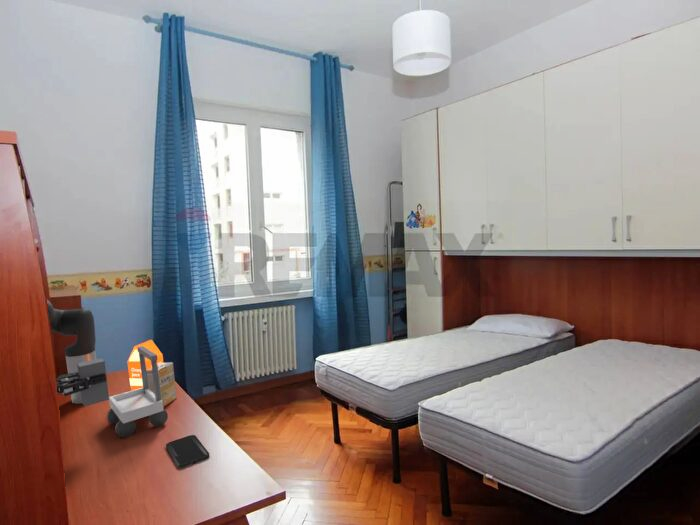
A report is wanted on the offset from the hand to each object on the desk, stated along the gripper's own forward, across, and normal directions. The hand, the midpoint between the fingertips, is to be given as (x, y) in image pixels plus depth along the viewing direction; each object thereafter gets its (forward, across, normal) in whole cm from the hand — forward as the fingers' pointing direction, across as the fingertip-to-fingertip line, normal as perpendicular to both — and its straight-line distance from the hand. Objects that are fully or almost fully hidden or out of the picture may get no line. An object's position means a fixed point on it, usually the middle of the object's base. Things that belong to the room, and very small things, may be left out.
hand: (103, 375), depth 122 cm
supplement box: (+19, +17, +19) cm, 32 cm away
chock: (-3, 0, +7) cm, 7 cm away
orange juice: (+17, +27, +19) cm, 37 cm away
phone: (+13, -24, +20) cm, 33 cm away
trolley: (+8, +6, +19) cm, 21 cm away
